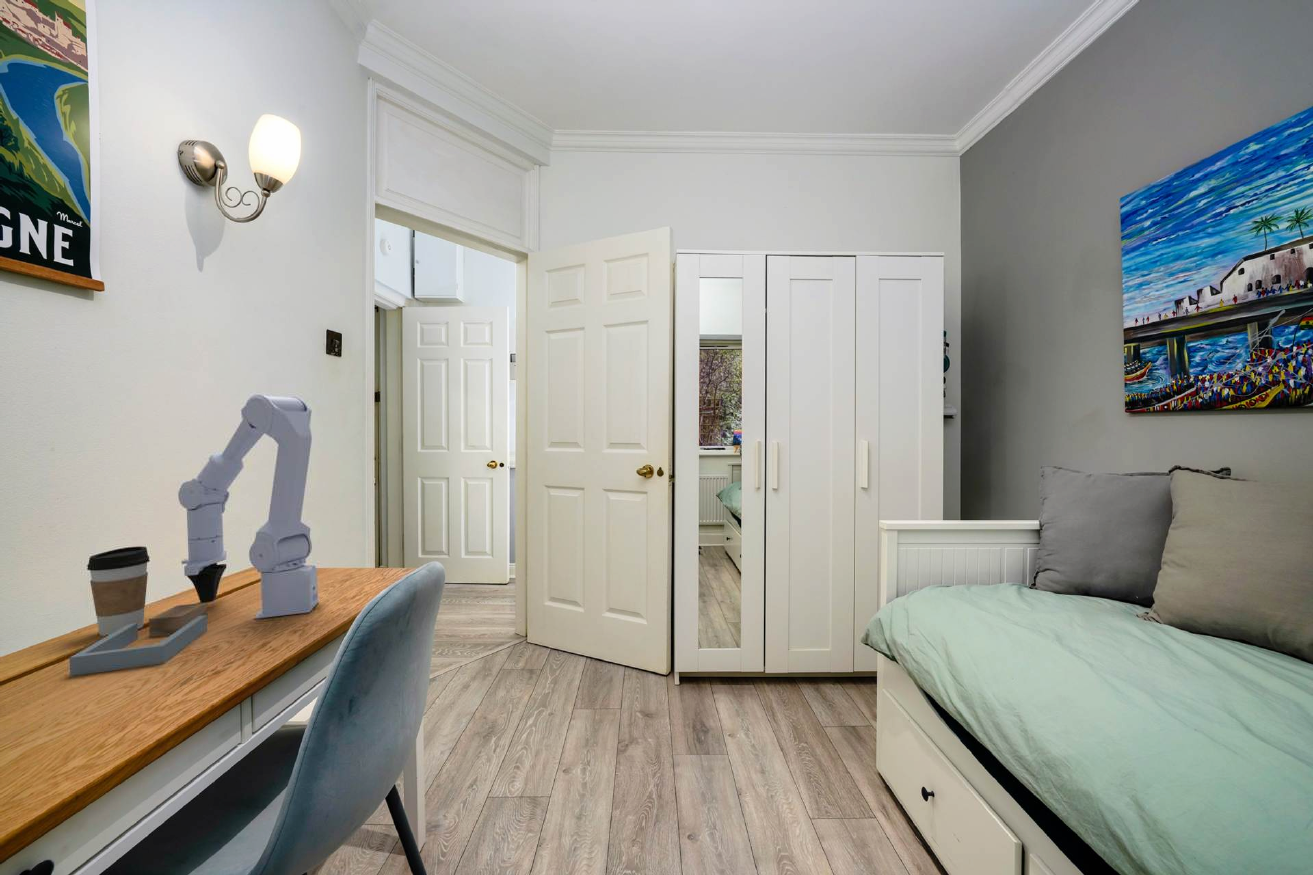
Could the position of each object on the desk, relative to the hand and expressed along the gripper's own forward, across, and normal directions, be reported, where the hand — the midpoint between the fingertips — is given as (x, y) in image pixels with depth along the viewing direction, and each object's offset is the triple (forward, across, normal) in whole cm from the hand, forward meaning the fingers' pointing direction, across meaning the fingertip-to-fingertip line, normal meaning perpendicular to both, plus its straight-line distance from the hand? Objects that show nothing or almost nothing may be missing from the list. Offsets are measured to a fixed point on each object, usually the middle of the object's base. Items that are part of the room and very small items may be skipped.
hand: (208, 601), depth 114 cm
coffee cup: (+2, +9, -10) cm, 14 cm away
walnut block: (+2, +12, 0) cm, 12 cm away
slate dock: (+1, +24, 0) cm, 24 cm away
